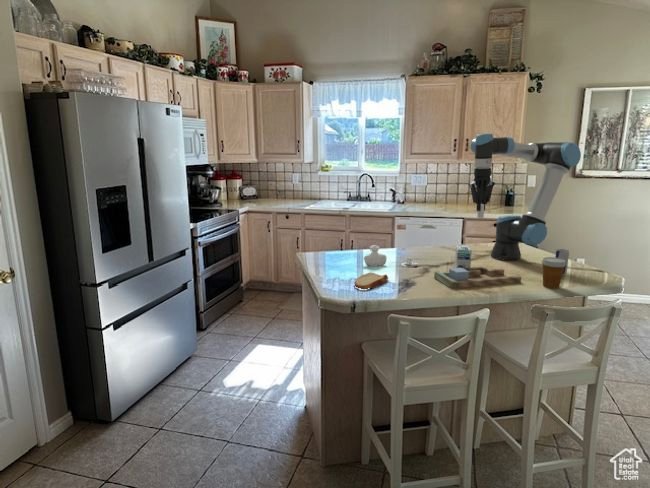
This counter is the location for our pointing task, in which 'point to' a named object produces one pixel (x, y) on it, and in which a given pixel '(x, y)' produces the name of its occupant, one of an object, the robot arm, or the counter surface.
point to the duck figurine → (375, 257)
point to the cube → (458, 274)
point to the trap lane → (475, 272)
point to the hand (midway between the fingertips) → (480, 217)
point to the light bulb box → (463, 256)
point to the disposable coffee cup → (552, 271)
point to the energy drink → (563, 255)
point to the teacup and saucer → (409, 262)
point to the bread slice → (370, 280)
